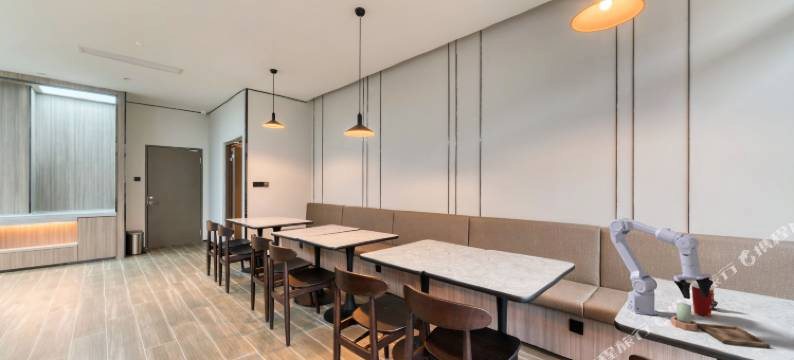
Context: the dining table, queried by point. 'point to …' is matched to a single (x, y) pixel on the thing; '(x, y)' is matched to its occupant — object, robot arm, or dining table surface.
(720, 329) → the serving tray
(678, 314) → the green pin
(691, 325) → the orange octagonal ring
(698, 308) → the paper cup
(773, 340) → the dining table surface
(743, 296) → the dining table surface
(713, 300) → the salt shaker
